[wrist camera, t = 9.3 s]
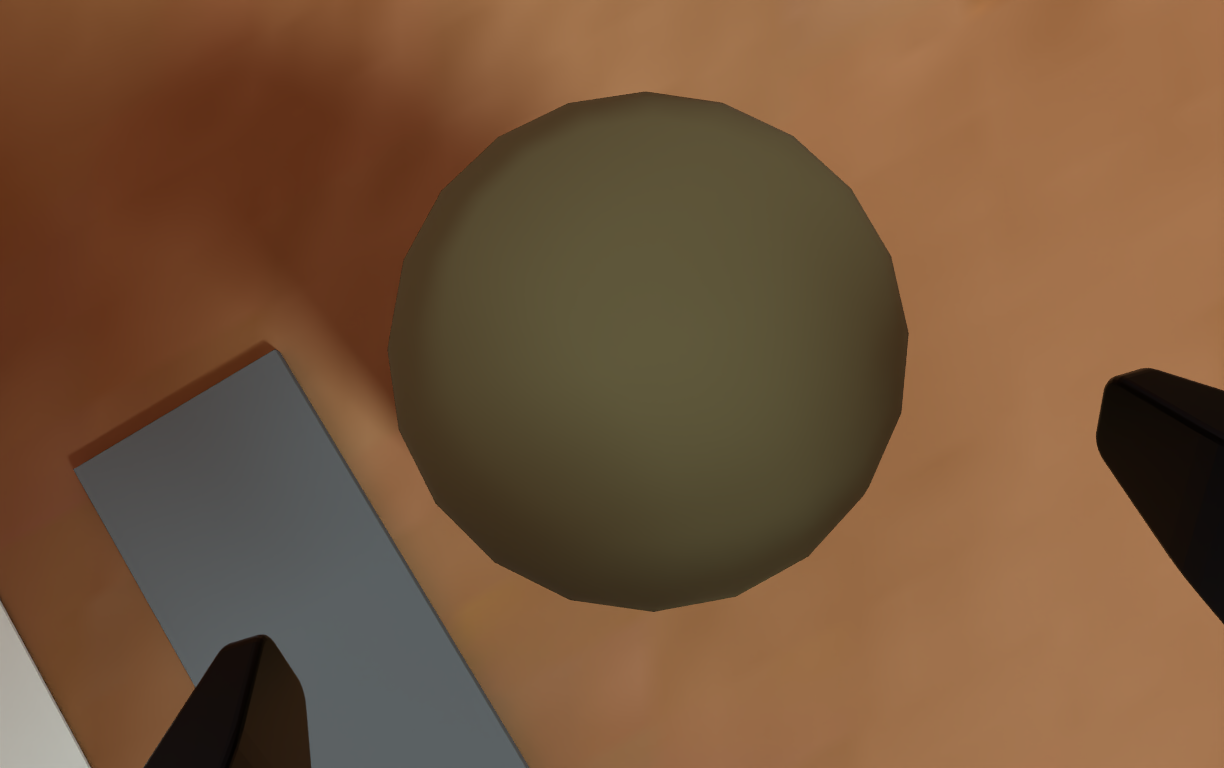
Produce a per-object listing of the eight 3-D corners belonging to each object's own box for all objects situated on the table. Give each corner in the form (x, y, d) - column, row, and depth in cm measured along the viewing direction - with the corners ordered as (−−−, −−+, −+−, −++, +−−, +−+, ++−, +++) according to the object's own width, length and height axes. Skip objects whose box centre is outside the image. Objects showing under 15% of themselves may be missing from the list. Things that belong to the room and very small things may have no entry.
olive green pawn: (407, 471, 18) (148, 398, 7) (579, 237, 19) (574, -138, 8) (652, 647, 18) (758, 841, 7) (818, 400, 19) (1140, 233, 8)
